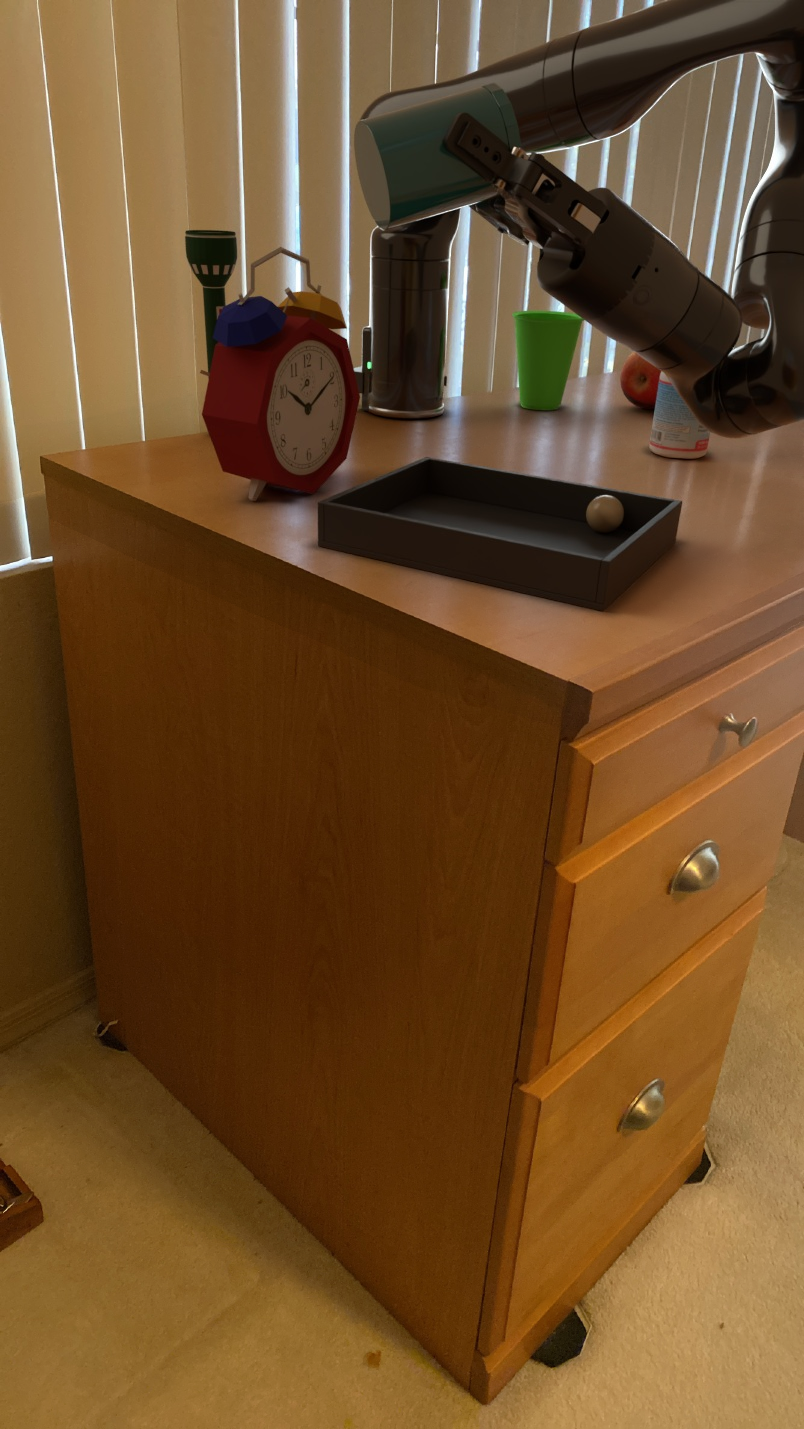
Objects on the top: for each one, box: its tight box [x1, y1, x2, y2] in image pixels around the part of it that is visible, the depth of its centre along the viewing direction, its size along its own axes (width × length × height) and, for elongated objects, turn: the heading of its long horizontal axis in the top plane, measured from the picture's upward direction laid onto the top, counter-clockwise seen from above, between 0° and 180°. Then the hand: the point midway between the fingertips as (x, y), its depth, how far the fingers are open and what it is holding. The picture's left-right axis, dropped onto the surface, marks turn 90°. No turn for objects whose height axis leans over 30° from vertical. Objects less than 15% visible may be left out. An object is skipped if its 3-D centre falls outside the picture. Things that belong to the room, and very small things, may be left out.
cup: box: [511, 310, 585, 411], centre depth 124 cm, size 9×9×11 cm
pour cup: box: [353, 83, 521, 230], centre depth 63 cm, size 6×6×9 cm
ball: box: [586, 495, 624, 533], centre depth 79 cm, size 3×3×3 cm
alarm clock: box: [199, 246, 361, 502], centre depth 85 cm, size 15×9×20 cm, turn 148°
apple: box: [619, 351, 661, 410], centre depth 125 cm, size 8×8×8 cm
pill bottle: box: [648, 371, 711, 460], centre depth 103 cm, size 6×6×11 cm
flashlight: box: [184, 229, 238, 380], centre depth 102 cm, size 5×5×20 cm
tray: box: [317, 456, 683, 612], centre depth 77 cm, size 23×17×4 cm
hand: (433, 129), depth 62 cm, fingers closed on pour cup, 6 cm apart
